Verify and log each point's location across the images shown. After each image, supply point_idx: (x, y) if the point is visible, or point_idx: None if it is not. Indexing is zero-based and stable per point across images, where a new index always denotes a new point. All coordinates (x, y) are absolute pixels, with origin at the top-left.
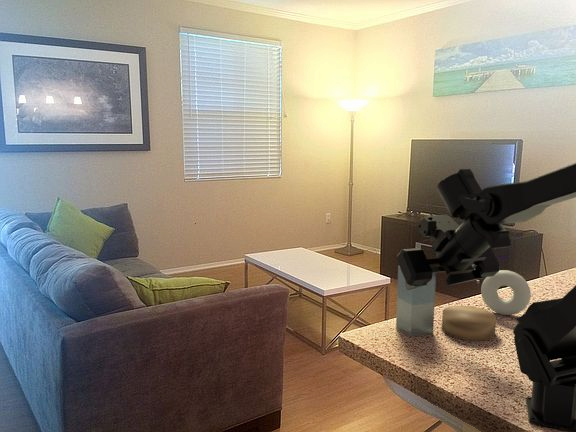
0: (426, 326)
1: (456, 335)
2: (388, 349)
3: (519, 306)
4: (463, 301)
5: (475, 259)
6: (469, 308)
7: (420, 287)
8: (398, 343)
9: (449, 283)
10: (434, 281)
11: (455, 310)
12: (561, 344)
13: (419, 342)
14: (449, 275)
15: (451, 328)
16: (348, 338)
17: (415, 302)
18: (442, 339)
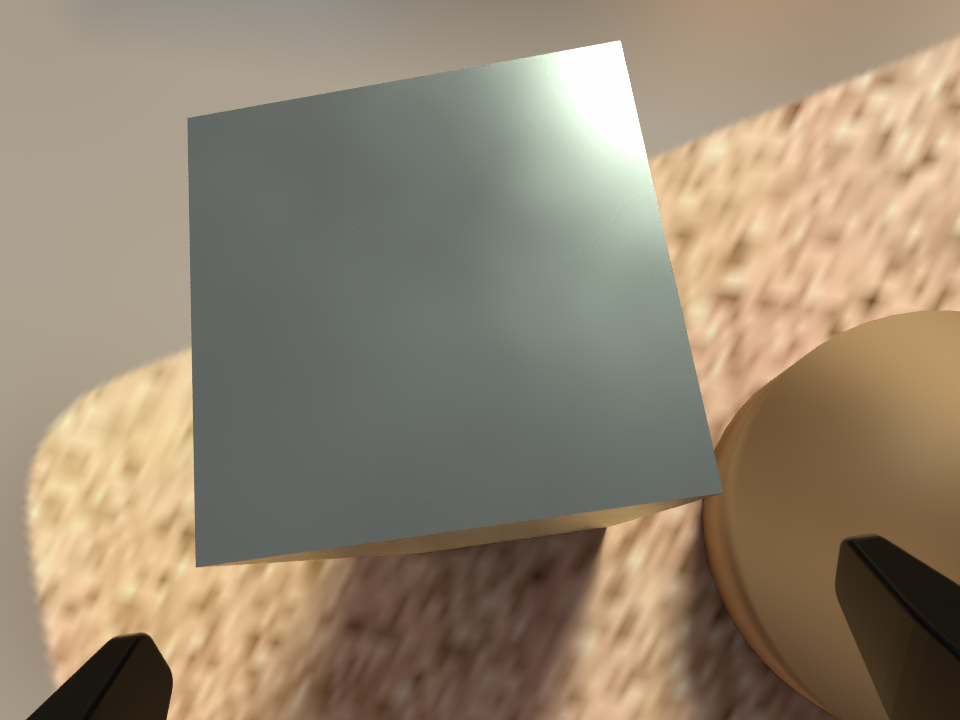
0: (548, 534)
1: (747, 639)
2: (186, 715)
3: None
4: None
5: None
6: None
7: (425, 543)
8: (295, 635)
9: (863, 640)
10: (658, 509)
11: (884, 416)
12: None
13: (440, 652)
14: (932, 646)
15: (733, 600)
16: (35, 486)
17: (399, 551)
18: (626, 639)
